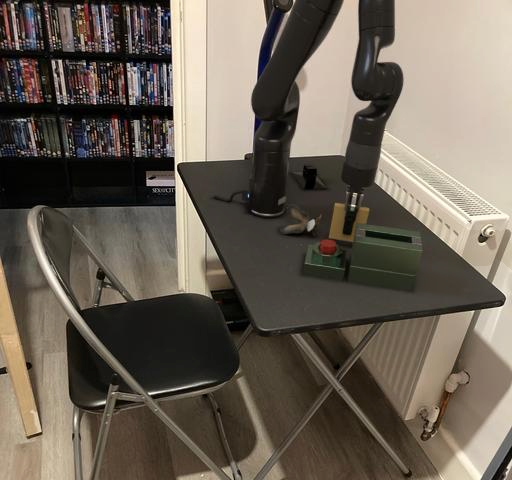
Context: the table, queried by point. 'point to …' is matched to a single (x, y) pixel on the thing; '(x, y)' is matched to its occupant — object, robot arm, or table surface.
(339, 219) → the toast
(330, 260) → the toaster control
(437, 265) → the table surface
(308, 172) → the black block on base
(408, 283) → the toaster
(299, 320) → the table surface
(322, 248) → the button
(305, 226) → the eagle figurine
